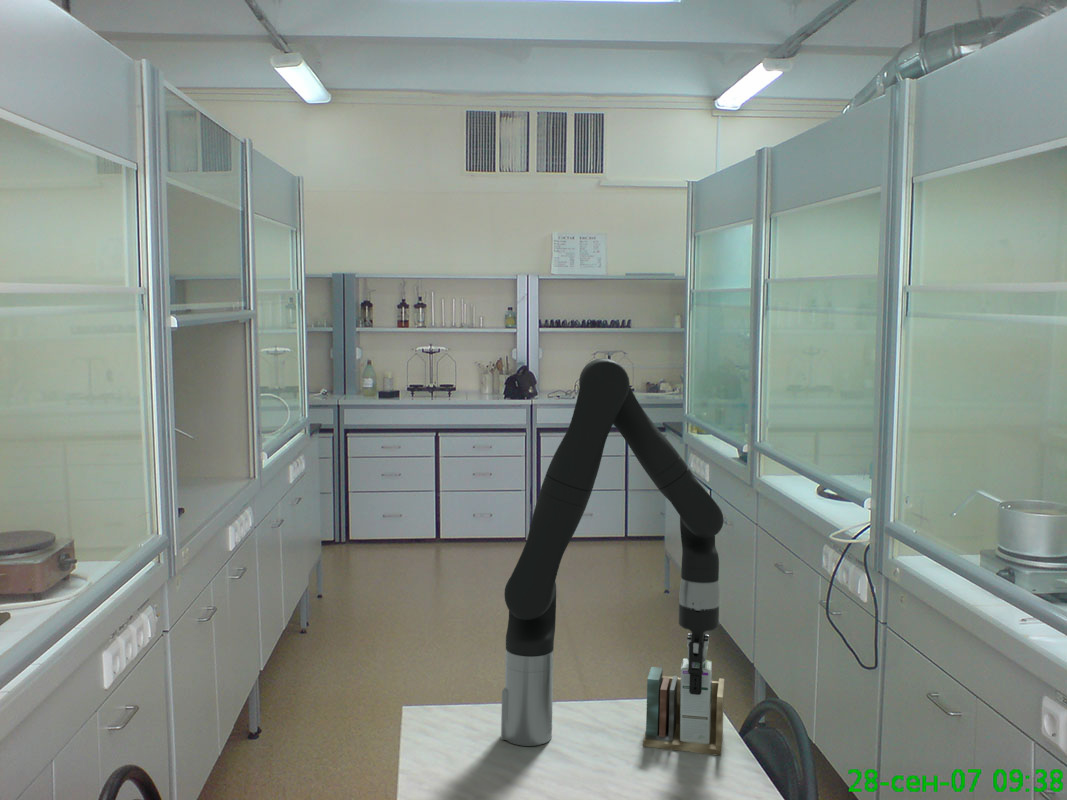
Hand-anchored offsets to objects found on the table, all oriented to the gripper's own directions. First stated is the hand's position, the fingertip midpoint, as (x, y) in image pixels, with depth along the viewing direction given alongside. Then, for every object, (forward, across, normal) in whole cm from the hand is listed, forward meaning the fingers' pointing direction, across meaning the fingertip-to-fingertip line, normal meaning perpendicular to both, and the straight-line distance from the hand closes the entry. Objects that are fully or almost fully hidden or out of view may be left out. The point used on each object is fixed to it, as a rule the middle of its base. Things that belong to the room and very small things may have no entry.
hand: (696, 686), depth 174 cm
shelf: (+11, 0, -2) cm, 11 cm away
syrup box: (+10, 0, 0) cm, 10 cm away
